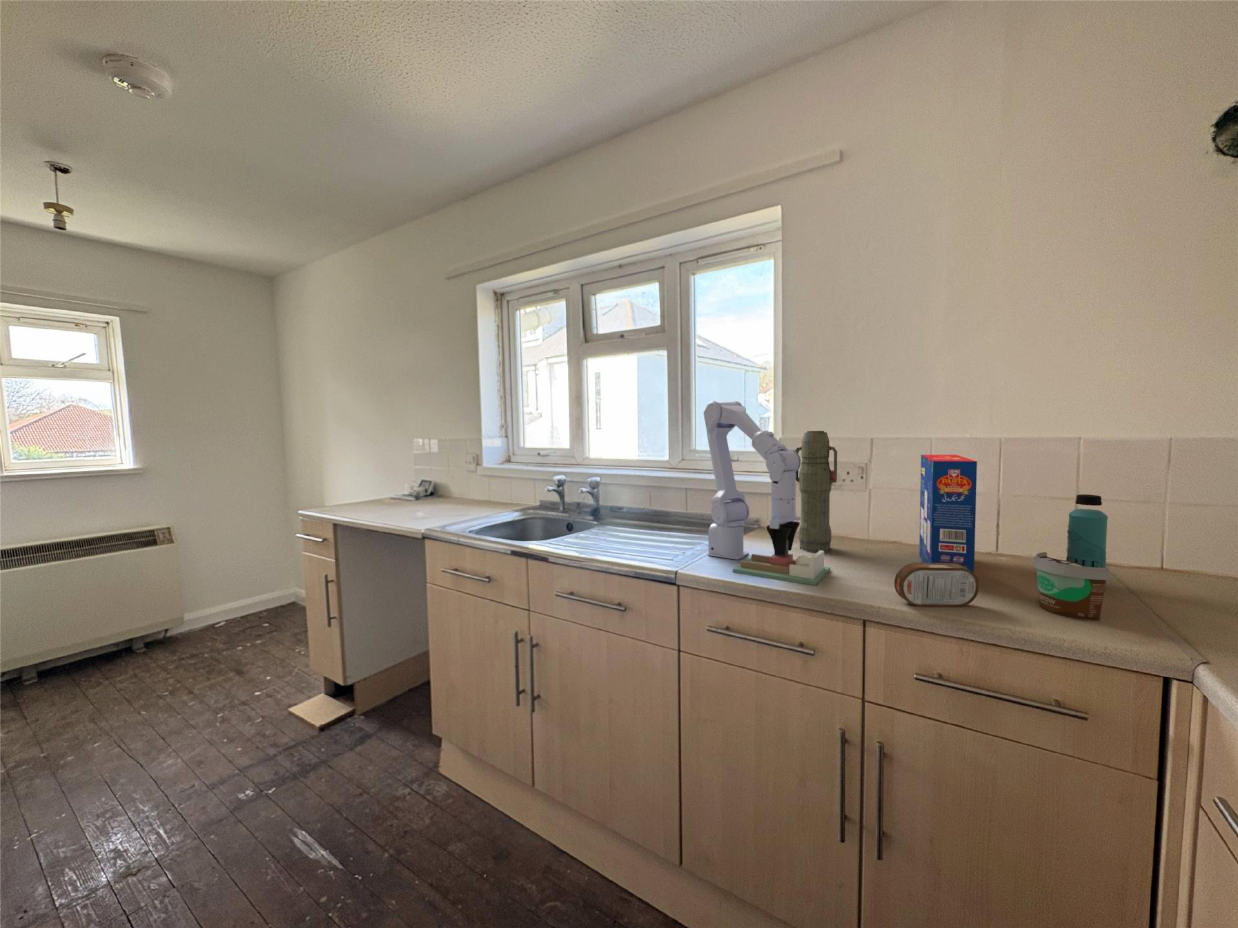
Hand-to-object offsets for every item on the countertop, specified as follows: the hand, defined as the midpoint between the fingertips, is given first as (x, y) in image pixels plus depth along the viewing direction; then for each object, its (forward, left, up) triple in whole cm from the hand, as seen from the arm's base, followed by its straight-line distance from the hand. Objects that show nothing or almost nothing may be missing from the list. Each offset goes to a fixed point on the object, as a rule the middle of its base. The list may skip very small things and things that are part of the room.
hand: (783, 552), depth 121 cm
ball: (+5, 0, -2) cm, 5 cm away
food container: (+51, +1, -5) cm, 52 cm away
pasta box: (+32, +23, -5) cm, 40 cm away
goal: (+5, 0, -5) cm, 7 cm away
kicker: (-1, 0, -5) cm, 5 cm away
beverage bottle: (+58, +25, -5) cm, 64 cm away
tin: (+32, -7, -5) cm, 34 cm away
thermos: (0, +28, -5) cm, 28 cm away
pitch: (-1, 0, -5) cm, 5 cm away
